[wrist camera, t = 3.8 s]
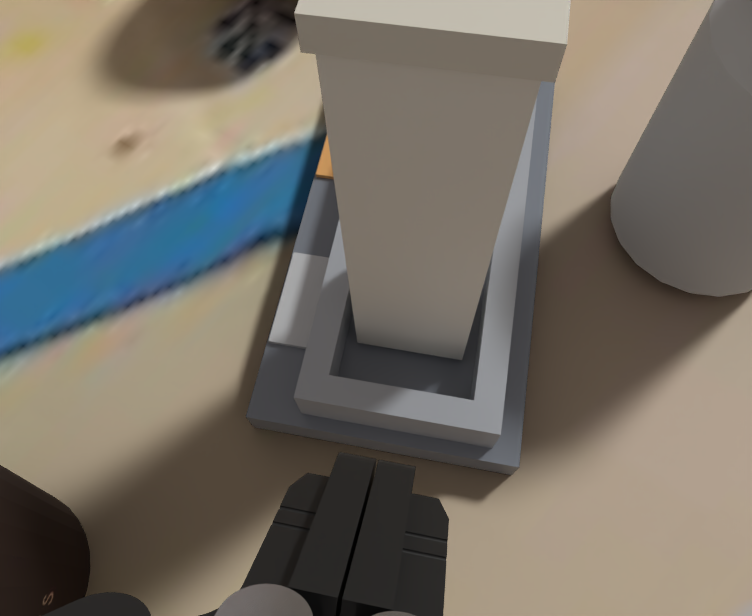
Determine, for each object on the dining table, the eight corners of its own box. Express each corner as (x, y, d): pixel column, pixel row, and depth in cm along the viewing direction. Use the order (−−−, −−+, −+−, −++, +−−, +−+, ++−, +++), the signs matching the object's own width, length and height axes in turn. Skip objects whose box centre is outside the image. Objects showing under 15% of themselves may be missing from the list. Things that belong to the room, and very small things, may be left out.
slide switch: (511, 474, 23) (530, 455, 20) (254, 427, 24) (232, 401, 21) (548, 93, 31) (566, 36, 28) (353, 70, 32) (348, 12, 29)
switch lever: (466, 365, 23) (566, 44, 10) (351, 346, 24) (294, 13, 10) (477, 285, 24) (578, -92, 11) (368, 269, 25) (338, -114, 12)
